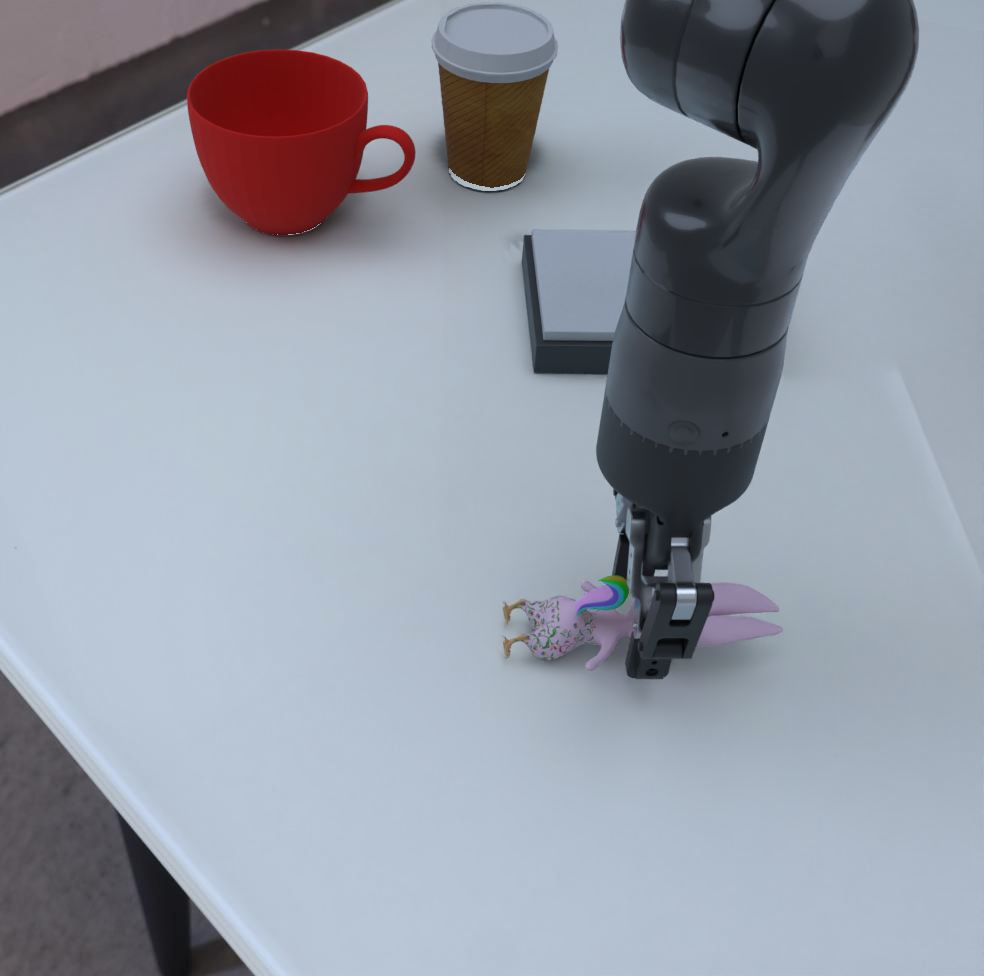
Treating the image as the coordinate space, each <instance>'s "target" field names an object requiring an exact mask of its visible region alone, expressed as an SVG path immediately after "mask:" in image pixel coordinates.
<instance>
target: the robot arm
mask: <svg viewBox="0 0 984 976" xmlns="http://www.w3.org/2000/svg"><path fill="white" fill-rule="evenodd" d="M622 7H623V8H622V11H621V17H620V26H619V27H620V30H619V46H620V54H621V60H622V64H623V66H624V69H625V72H626V75H627V77H628V80H629V81H630V82H631V84H632V85H633V86H634V88H636V90H637V91H638V92H640V93H641V94H642V95H643V96H645V97H646V98H647V99H648V100H650V101H652V102H654V103H656V104H657V105H660V106H662V107H664V108H666V109H668V110H670V111H673V112H674V113H676V114H679V115H681V116H683V117H686V118H688V119H691V120H693V121H694V122H696V123H700V124H702V125H703V126H706V127H708V128H710V129H712V130H714V131H716V132H719V133H721V134H723V135H725V136H728V137H729V138H732V139H734V140H736V141H738V142H741V143H743V144H744V145H747V146H749V147H751V148H753V149H755V150H756V151H757V161H756V160H750V159H745V158H736V157H727V156H701V157H695V158H689V159H684V160H682V161H678V162H676V163H674V164H672V165H670V166H668V167H667V168H665V169H664V170H662V171H660V172H661V173H659V174H658V175H657V176H656V177H655V178H654V179H653V181H652V182H651V183H650V185H649V187H647V190H646V192H645V194H644V197H643V200H642V203H641V206H640V209H639V214H638V219H637V224H636V228H635V231H636V234H635V241H634V249H633V255H632V261H631V268H630V274H629V280H628V286H627V293H626V297H625V302H624V306H623V309H622V312H621V315H620V318H619V320H618V323H617V327H616V330H615V334H614V339H613V343H612V348H611V355H610V361H609V368H608V374H606V382H605V388H604V394H603V401H602V405H601V406H602V407H601V413H600V420H599V426H598V433H597V439H596V445H595V455H596V462H597V465H598V468H599V470H600V472H601V475H602V476H603V478H604V480H605V481H606V482H607V483H608V485H610V486H611V488H612V494H613V496H614V499H615V511H616V513H615V514H616V518H615V521H614V524H615V525H614V526H615V528H616V529H617V534H619V535H618V539H617V545H616V550H615V556H614V561H613V565H612V572H611V576H613V575H617V576H621V577H623V578H624V579H626V581H627V585H628V588H629V594H630V596H631V597H632V598H633V600H634V599H635V608H634V620H633V622H632V634H631V638H629V643H628V649H627V653H626V657H625V662H624V664H625V671H626V675H627V677H628V678H630V679H635V680H663V679H664V678H665V677H667V676H668V675H669V673H670V669H671V665H672V662H673V661H672V659H673V660H691V659H692V658H693V655H694V654H695V651H696V648H697V647H696V646H697V643H698V641H699V638H700V635H701V633H702V630H703V628H704V625H705V623H706V620H707V618H708V615H709V612H710V610H711V607H712V604H713V601H714V591H713V589H712V585H711V584H712V583H711V582H701V579H702V568H703V558H704V550H705V548H706V547H707V546H708V545H709V544H710V540H711V531H712V516H713V515H715V514H716V513H718V512H719V511H721V510H723V509H725V508H727V507H728V506H730V505H732V504H734V502H736V501H737V500H738V499H740V498H741V497H742V495H743V494H745V492H746V491H747V490H748V488H749V487H750V485H751V483H752V481H753V478H754V475H755V472H756V468H757V465H758V461H759V457H760V453H761V449H762V447H763V442H764V439H765V436H766V432H767V429H768V425H769V423H770V422H769V421H770V418H771V414H772V411H773V407H774V403H775V400H776V397H777V393H778V389H779V386H780V381H781V379H782V374H783V369H784V365H785V357H786V348H787V346H786V345H787V339H788V338H787V337H788V332H789V327H790V324H791V320H792V316H793V313H794V309H795V305H796V302H797V298H798V294H799V290H800V287H801V283H802V280H803V277H804V272H805V269H806V265H807V261H808V258H809V256H810V252H811V250H812V247H813V246H814V243H815V242H816V239H817V237H818V235H819V233H820V231H821V229H822V227H823V225H824V223H825V221H826V219H827V217H828V215H829V213H830V212H831V210H832V207H833V206H834V204H835V202H836V200H837V199H838V197H839V195H840V194H841V192H842V191H843V188H844V187H845V184H846V183H847V182H848V180H849V178H850V176H852V173H853V171H854V170H855V169H856V167H857V165H858V164H859V162H860V161H861V159H862V158H863V156H864V154H866V151H867V150H868V149H869V147H870V146H871V145H872V143H873V142H874V140H875V138H876V137H877V135H878V134H879V132H881V130H882V128H883V127H884V126H885V124H886V123H887V121H888V119H889V118H890V116H891V115H892V113H893V112H894V111H895V109H896V108H897V105H898V104H899V102H900V100H901V98H902V97H903V95H904V93H905V92H906V90H907V88H908V85H909V84H910V81H911V79H912V77H913V73H914V70H915V67H916V64H917V60H918V54H919V48H920V25H919V18H918V11H917V8H916V5H915V2H914V0H624V2H623V6H622ZM656 571H667V575H655V573H656ZM650 601H651V604H650V607H649V603H650ZM648 607H649V610H648Z"/></svg>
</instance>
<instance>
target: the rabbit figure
mask: <svg viewBox="0 0 984 976" xmlns="http://www.w3.org/2000/svg"><path fill="white" fill-rule="evenodd" d="M597 581H599V582H601V583H603V584H604V585H602V586H599V587H597V586H596V585H594V584H593V583H592V582H591V581H588V580H583V581H582V582H581V583H580V588H581V590H582V591H584V592H585V593H584V594H582V596H580V597H579V598H578V599H574V598H572V597H569V596H565V595H564V596H563V595H556V596H552V597H549V598H547V599H543V600H535V601H533V600H532V601H531V600H528V599H525V598H521V599H519V600H518V601H516V602H515V603H512V604H510V605H508V604H507V602H506V601H503V600H502V601H501V603H502V604H503V605H504V606H503V607H502V612H503V613H502V614H503V618H504V620H505V624H504V627H505V626H508V624H509V622H510V621H511V616H510V615H511V614H512V611H513V610H516V609H520V610H522V611H523V613H524V614H525V615H526V617H527V621H528V624H529V626H530V627H531V629H532V630H533V631H531V632H529V633H527V634H526V633H521V634H519V635H518V636H516V637H513V638H511V639H508V638H507V636H505V635H501V637H502V638H503V639H504V640H503V641H502V646H503V652H504V653H503V654H504V655H505V657H504V658H503V660H508V659H509V658H510V656H511V648H512V646H513V645H514V644H515V643H518V642H522V643H524V644H525V645H526V646H527V648H528V649H529V650H530V652H531V653H532V654H533V656H534V657H536V658H537V659H539V660H542V661H552V660H558V659H559V658H561V657H563V656H564V655H566V654H569V653H570V652H571V651H573V650H575V649H577V648H578V647H580V646H582V645H585V644H590V645H595V646H600V650H599V651H598V653H597V655H595V656H594V657H592V658H590V659H589V660H587V661H586V663H585V666H584V667H585V669H586V670H587V671H588V672H593V671H594V670H596V669H597V668H599V667H600V666H601V665H602V664H603V663H604V662H605V661H607V659H608V658H609V657H610V656H611V655H612V654H613V651H614V650H615V648H616V647H617V645H618V642H619V640H620V639H622V638H623V637H628V638H629V639H630V638H631V634H632V622H633V620H634V608H635V599H634V598H633V601H632V602H631V604H630V608H629V610H628V612H627V613H624V614H623V613H619V612H618V611H617V608H619V607H621V606H622V605H623V604H624V603H625V602H626V601H627V600H628V598H629V596H630V591H629V588H628V585H627V581H626V579H624V578H623V577H621V576H617V575H613V576H612V575H607V576H604V577H602V578H600V579H598V580H597ZM711 585H712V589H713V591H714V601H713V604H712V607H711V610H710V612H709V615H708V618H707V620H706V623H705V625H704V628H703V630H702V633H701V635H700V638H699V641H698V643H697V646H696V648H715V647H716V648H717V647H723V646H727V645H732V644H736V643H739V642H742V641H743V642H744V641H749V640H753V639H758V638H763V637H769V636H770V637H771V636H776V635H779V634H781V633H782V632H783V631H784V627H782V626H781V625H778V624H774V623H771V622H768V621H765V620H762V619H759V618H756V617H752V616H737V615H741V614H762V613H778V612H779V611H780V607H779V606H778V604H776V602H774V601H773V600H772V599H770V597H768V596H766V595H765V594H764V593H762V592H760V591H759V590H757V589H755V588H753V587H750V586H748V585H746V584H741V583H733V582H713V583H711ZM650 604H651V601H650V603H649V607H650ZM649 607H648V610H649ZM589 610H594V611H589ZM595 610H596V611H595ZM735 615H736V616H735ZM672 660H674V659H672Z"/></svg>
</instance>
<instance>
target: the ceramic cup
mask: <svg viewBox="0 0 984 976" xmlns="http://www.w3.org/2000/svg"><path fill="white" fill-rule="evenodd" d="M186 105H187V114H188V120H189V125H190V126H189V127H190V130H191V135H192V140H193V143H194V147H195V151H196V155H197V157H198V158H197V159H198V161H199V163H200V166H201V168H202V170H203V173H204V175H205V177H206V179H207V182H208V184H209V185H210V187H211V189H212V190H213V192H214V193H215V194H216V196H217V197H218V198H219V200H220V201H221V202H222V203H223V204H224V205H225V206H226V207H227V208H228V209H229V210H230V211H231V212H232V213H233V214H234V215H235V216H237V218H239V219H241V220H242V221H244V222H245V223H246V222H247V223H246V225H247V226H249V225H250V226H251V227H252V228H251V227H250V226H249V227H250V228H251V229H253V228H254V229H253V230H255V229H257V230H256V231H257V232H259V231H261V232H260V233H262V232H264V233H263V234H265V233H266V234H265V235H269V234H274V235H273V236H275V235H277V234H278V235H288V234H296V233H302V232H304V231H307V230H310V229H312V228H314V227H316V226H317V225H318V224H320V223H322V222H323V221H324V220H325V219H326V220H327V218H329V217H330V216H331V215H332V214H333V213H334V212H335V211H336V210H337V209H338V208H339V207H340V206H341V204H342V203H343V202H344V201H345V199H346V198H347V197H348V195H349V194H350V195H351V194H363V193H372V192H377V191H383V190H386V189H389V188H391V187H394V186H396V185H398V184H399V183H401V182H402V181H403V180H404V179H405V178H406V177H407V176H408V174H409V173H410V172H411V170H412V168H413V167H414V163H415V161H416V146H415V143H414V140H413V139H412V137H411V136H410V135H409V134H408V132H406V131H405V130H404V129H402V128H401V127H399V126H395V125H392V124H391V125H390V124H378V125H374V126H371V127H368V126H367V125H368V113H369V91H368V87H367V83H366V81H365V80H364V79H363V77H362V76H361V74H360V73H359V72H358V71H357V70H356V69H354V68H353V67H352V66H350V65H348V64H347V63H344V62H343V61H341V60H339V59H336V58H334V57H331V56H329V55H325V54H319V53H317V52H313V51H305V50H299V49H282V48H281V49H279V48H278V49H277V48H276V49H261V50H253V51H248V52H243V53H238V54H235V55H231V56H228V57H225V58H223V59H219V60H218V61H216V62H214V63H211V64H210V65H208V66H206V67H205V68H204V69H202V70H201V71H200V72H199V73H197V74H196V75H195V76H194V78H193V80H191V82H190V83H189V86H188V89H187V91H186ZM367 127H368V128H367ZM380 139H385V140H391V141H393V142H395V143H396V144H398V146H399V147H400V148H401V150H402V153H403V162H402V165H401V166H400V168H398V170H396V171H395V172H393V173H392V174H389V175H386V176H382V177H381V176H380V177H376V178H367V179H364V178H363V179H362V178H359V179H358V178H357V177H358V174H359V172H360V168H361V165H362V162H363V157H364V156H363V155H364V151H365V148H366V146H367V145H368V144H370V143H371V142H373V141H376V140H380ZM326 220H325V221H326ZM325 221H324V222H325ZM324 222H323V223H324ZM323 223H322V224H323Z"/></svg>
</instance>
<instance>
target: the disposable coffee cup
mask: <svg viewBox="0 0 984 976" xmlns="http://www.w3.org/2000/svg"><path fill="white" fill-rule="evenodd" d="M431 48H432V52H433V53H434V56H435V60H436V61H437V66H438V67H437V68H438V75H439V85H440V97H441V107H442V117H443V126H444V135H445V137H444V138H445V149H446V157H447V166H448V165H449V168H450V169H451V170H452V172H453V173H454V174H456V176H458V177H460V178H461V179H463V180H464V181H467V182H469V183H472V184H476V185H479V186H485V187H490V188H494V187H500V186H504V185H509V184H511V183H513V182H516V181H518V180H520V179H521V178H522V177H523V176H524V174H525V173H526V174H527V171H526V170H528V165H529V162H530V156H531V154H532V153H531V152H532V148H533V143H534V138H535V135H536V131H537V126H538V120H539V116H540V112H541V109H542V103H543V98H544V94H545V89H546V86H547V85H546V84H547V82H548V76H549V72H550V68H551V66H552V65H553V63H554V60H555V59H556V57H557V56H558V53H559V43H558V40H557V39H556V37H555V31H554V27H553V24H552V22H551V21H550V20H549V19H548V18H547V17H546V16H544V15H543V14H542V13H540V12H538V11H536V10H534V9H532V8H529V7H526V6H522V5H519V4H515V3H507V2H499V1H497V2H495V1H481V2H474V3H466V4H463V5H461V6H457V7H455V8H453V9H451V10H449V11H448V12H446V13H445V14H444V15H442V17H440V19H439V22H438V25H437V28H436V31H435V32H434V33H433V35H432V37H431Z"/></svg>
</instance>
